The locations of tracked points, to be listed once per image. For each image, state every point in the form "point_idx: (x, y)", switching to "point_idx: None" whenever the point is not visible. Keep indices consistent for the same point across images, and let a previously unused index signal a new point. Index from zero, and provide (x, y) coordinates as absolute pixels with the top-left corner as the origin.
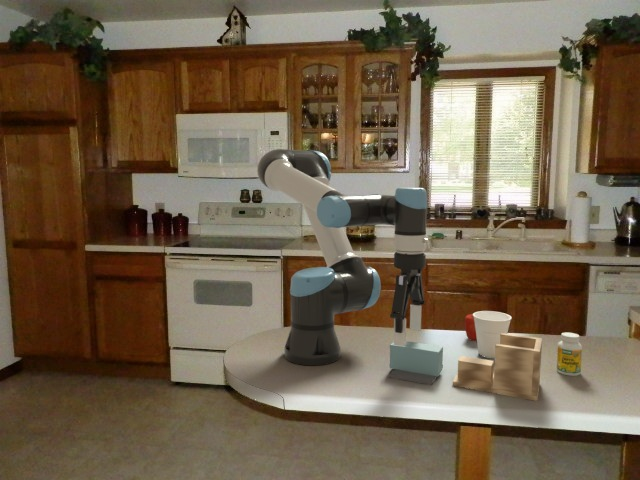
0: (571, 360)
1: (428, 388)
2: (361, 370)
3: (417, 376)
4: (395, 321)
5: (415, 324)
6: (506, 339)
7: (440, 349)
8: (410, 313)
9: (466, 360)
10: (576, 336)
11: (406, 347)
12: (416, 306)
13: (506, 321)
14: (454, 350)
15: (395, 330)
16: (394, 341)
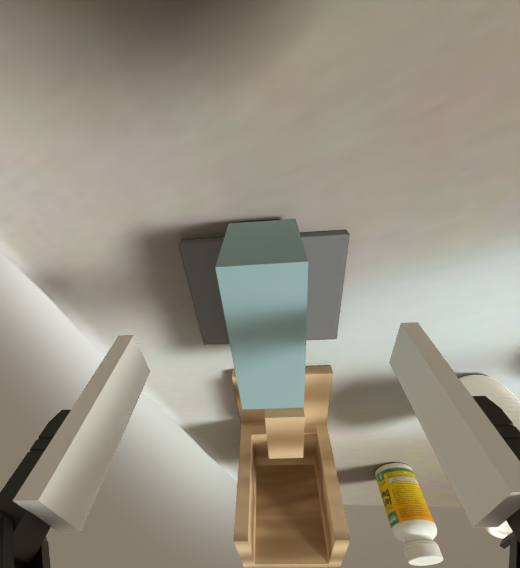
0: (384, 504)
1: (184, 338)
2: (171, 112)
3: (215, 312)
4: (2, 490)
5: (408, 370)
6: (331, 529)
7: (269, 408)
8: (458, 410)
9: (275, 428)
10: (415, 564)
11: (227, 329)
12: (480, 506)
13: (497, 531)
14: (496, 325)
15: (48, 424)
16: (112, 350)
